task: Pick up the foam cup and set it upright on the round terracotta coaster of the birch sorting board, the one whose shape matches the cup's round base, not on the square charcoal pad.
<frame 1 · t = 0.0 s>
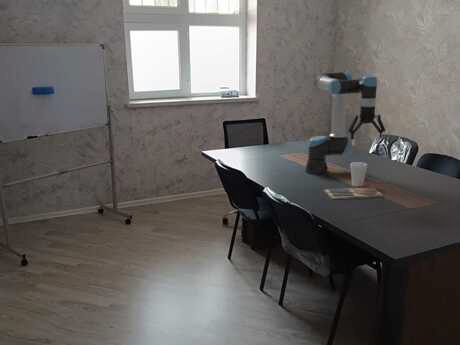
hand: (365, 144, 238), 28 cm above the table, tool pointing down, fingers open, 13 cm apart
foam cup: (357, 185, 261), on the table
sorting board: (353, 193, 245), on the table
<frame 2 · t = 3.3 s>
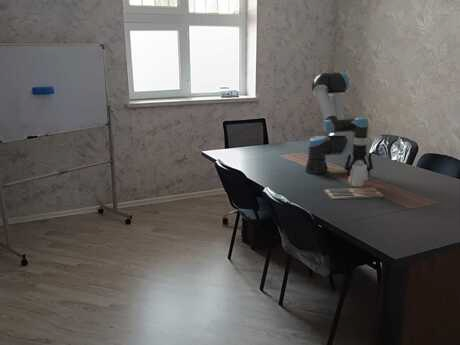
hand: (357, 180, 260), 3 cm above the table, tool pointing down, fingers closed on foam cup, 9 cm apart
foam cup: (357, 185, 261), on the table, touching gripper
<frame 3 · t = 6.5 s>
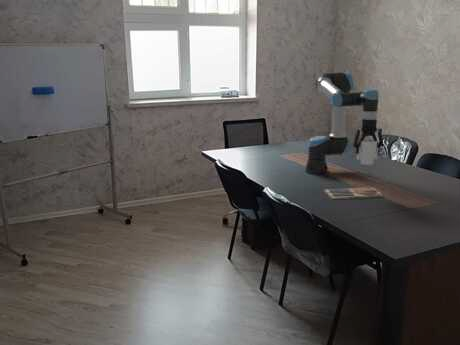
hand: (367, 159, 240), 20 cm above the table, tool pointing down, fingers closed on foam cup, 9 cm apart
foam cup: (366, 163, 241), point 17 cm above the table, touching gripper
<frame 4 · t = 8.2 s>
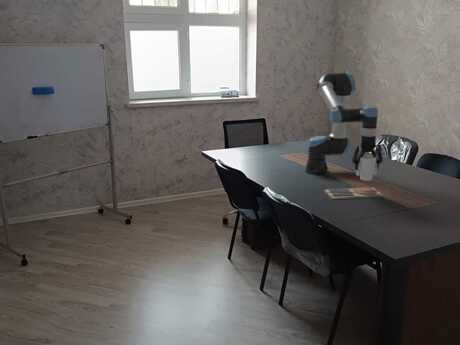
hand: (366, 174, 242), 11 cm above the table, tool pointing down, fingers closed on foam cup, 9 cm apart
foam cup: (366, 179, 243), point 8 cm above the table, touching gripper
when the fingers open (5 cm above the table, at t = 9.7 s): foam cup drops 1 cm, resting on sorting board.
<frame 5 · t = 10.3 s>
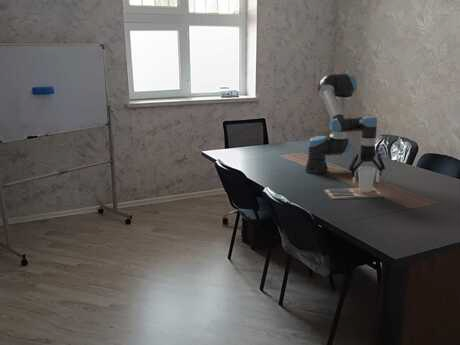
hand: (365, 182, 243), 7 cm above the table, tool pointing down, fingers open, 13 cm apart
foam cup: (365, 191, 245), point 1 cm above the table, touching sorting board
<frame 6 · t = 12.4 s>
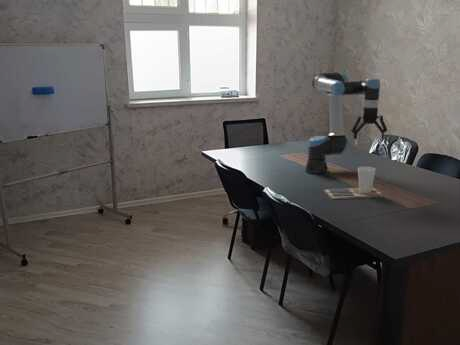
hand: (368, 144, 248), 26 cm above the table, tool pointing down, fingers open, 13 cm apart
nothing on the table moved.
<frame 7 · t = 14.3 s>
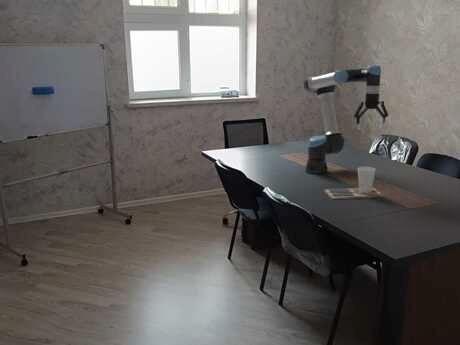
hand: (370, 129, 258), 33 cm above the table, tool pointing down, fingers open, 13 cm apart
nothing on the table moved.
at the end: foam cup 0.0 cm from the target spot on the sorting board, point 1.2 cm above the sorting board's base; foam cup tilted 0°; the gripper is holding nothing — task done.
